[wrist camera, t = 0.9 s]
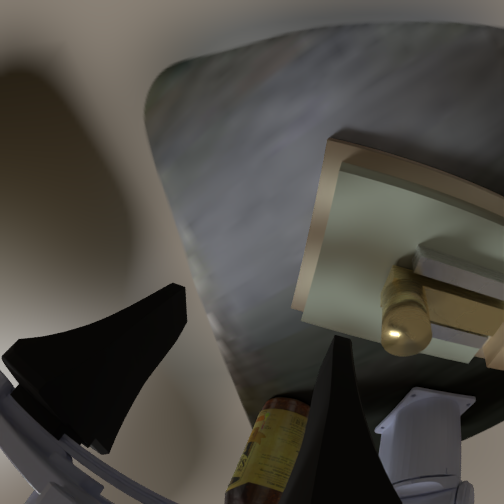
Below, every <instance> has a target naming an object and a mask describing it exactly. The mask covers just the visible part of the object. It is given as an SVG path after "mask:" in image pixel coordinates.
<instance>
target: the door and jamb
mask: <svg viewBox="0 0 504 504" xmlns="http://www.w3.org/2000/svg"><path fill="white" fill-rule="evenodd" d="M418 245H421V246H424V247H427V248H430V249H433V250H436V251H440V252H443V253H446V254H449V255H452V256H455V257H458V258H461V259H463V260H466V261H469V262H472V263H475V264H478V265H481V266H483V267H486V268H489V269H492V270H495V271H497V272H500V273H503V274H504V196H502V195H500V194H497V193H495V192H493V191H491V190H488V189H486V188H484V187H482V186H479V185H477V184H474V183H472V182H470V181H467V180H465V179H462V178H460V177H457V176H454V175H452V174H449V173H447V172H444V171H441V170H438V169H436V168H433V167H430V166H427V165H424V164H421V163H418V162H415V161H412V160H409V159H406V158H403V157H400V156H397V155H393V154H390V153H387V152H383V151H380V150H376V149H373V148H369V147H366V146H362V145H358V144H354V143H350V142H346V141H342V140H338V139H334V138H330V137H329V138H328V140H327V144H326V150H325V155H324V161H323V166H322V171H321V176H320V181H319V186H318V191H317V196H316V201H315V206H314V211H313V215H312V220H311V225H310V229H309V234H308V238H307V243H306V247H305V252H304V256H303V260H302V265H301V269H300V273H299V277H298V282H297V286H296V290H295V294H294V298H293V302H292V306H291V308H292V309H296V310H299V311H302V312H303V315H302V319H301V321H303V322H307V323H310V324H314V325H317V326H321V327H324V328H327V329H331V330H335V331H338V332H342V333H345V334H349V335H353V336H356V337H360V338H364V339H368V340H371V341H375V342H379V343H381V331H382V307H380V302H381V291H382V289H383V287H384V285H385V282H386V280H387V278H388V275H389V273H390V270H391V268H392V265H396V266H399V267H403V268H406V269H409V270H413V266H412V258H413V256H414V253H415V251H416V248H417V246H418ZM419 353H423V354H428V355H432V356H436V357H441V358H445V359H450V360H455V361H459V362H464V363H469V362H470V360H471V359H472V358H473V357H474V356H476V357H481V358H485V361H486V365H487V367H489V368H494V369H499V370H504V322H503V323H502V325H501V326H500V327H499V329H498V330H497V332H496V333H495V334H494V336H493V337H491V336H488V339H487V341H486V342H485V343H484V345H483V346H482V347H481V349H478V348H474V347H469V346H465V345H461V344H457V343H453V342H448V341H444V340H440V339H436V338H432V339H431V342H430V344H429V345H428V346H427V347H426V348H425V349H424V350H423V351H421V352H419Z"/></svg>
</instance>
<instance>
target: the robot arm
mask: <svg viewBox="0 0 504 504" xmlns="http://www.w3.org/2000/svg"><path fill="white" fill-rule="evenodd" d="M186 323H187V311H186V293H185V287H183V286H181V285H178V284H175V283H172V284H169V285H167V286H166V287H164V288H162V289H160V290H158V291H157V292H155V293H153V294H151V295H150V296H148V297H146V298H144V299H142V300H140V301H139V302H137V303H135V304H133V305H131V306H129V307H127V308H125V309H123V310H121V311H119V312H117V313H115V314H113V315H111V316H109V317H106V318H104V319H102V320H99V321H97V322H94V323H92V324H89V325H86V326H83V327H79V328H76V329H73V330H69V331H66V332H62V333H57V334H53V335H48V336H43V337H34V338H25V339H18V340H17V342H15V344H13V345H12V346H11V347H10V348H9V350H7V351H6V352H5V353H4V355H2V361H3V362H4V364H5V365H6V367H7V368H8V370H9V371H10V372H11V374H12V375H13V376H14V378H15V379H16V380H17V382H18V383H19V385H18V386H17V387H16V388H14V387H13V385H12V383H11V382H10V381H9V380H8V378H7V377H6V376H5V375H4V374H3V373H2V372H1V371H0V448H1V449H2V451H3V452H4V454H5V455H6V456H7V457H8V459H9V460H10V461H11V463H12V464H13V465H14V466H15V468H16V469H17V470H18V471H19V472H20V474H21V475H22V476H23V477H24V478H25V480H26V481H27V482H28V483H29V484H30V485H31V486H32V487H33V488H34V491H33V493H32V494H31V495H30V497H29V498H28V500H27V501H26V502H25V504H114V503H113V502H111V501H109V500H108V499H106V498H105V497H103V496H102V495H100V493H101V492H102V490H103V489H104V486H103V485H101V484H100V483H98V482H97V481H95V480H94V479H92V478H91V477H90V476H88V475H87V474H86V473H84V472H83V471H81V470H80V469H79V468H77V467H76V466H75V465H74V464H73V462H72V457H73V458H74V459H76V460H77V461H78V462H80V463H81V464H82V465H84V466H85V467H87V468H88V469H89V470H91V471H92V472H93V473H95V474H96V475H98V476H99V477H101V478H102V479H104V480H105V481H107V482H108V483H110V484H111V485H113V486H114V487H116V488H118V489H119V490H121V491H122V492H124V493H126V494H127V495H129V496H131V497H133V498H134V499H136V500H138V501H140V502H141V503H143V504H178V503H175V502H173V501H171V500H169V499H167V498H165V497H163V496H161V495H159V494H157V493H155V492H153V491H151V490H150V489H148V488H146V487H144V486H142V485H140V484H139V483H137V482H135V481H133V480H131V479H130V478H128V477H126V476H125V475H123V474H122V473H120V472H118V471H117V470H115V469H114V468H112V467H110V466H109V465H107V464H106V463H104V462H103V461H101V460H100V459H98V458H97V457H95V456H94V455H93V454H91V453H90V452H88V451H87V450H85V449H84V448H83V447H81V446H80V445H81V443H82V444H83V445H84V446H86V447H87V448H88V447H91V448H92V449H94V450H95V451H97V452H98V453H100V454H102V455H104V454H109V453H110V450H111V448H112V445H113V443H114V440H115V438H116V436H117V434H118V432H119V429H120V427H121V425H122V423H123V421H124V419H125V417H126V415H127V413H128V412H129V410H130V408H131V406H132V404H133V402H134V400H135V399H136V397H137V395H138V394H139V392H140V390H141V388H142V387H143V385H144V383H145V382H146V381H147V379H148V378H149V376H150V375H151V374H152V372H153V371H154V370H155V368H156V367H157V366H158V365H159V363H160V362H161V361H162V359H163V358H164V357H165V356H166V354H167V353H168V351H169V350H170V349H171V348H172V346H173V345H174V344H175V342H176V341H177V339H178V337H179V335H180V334H181V332H182V330H183V328H184V327H185V325H186ZM475 401H476V398H475V397H474V396H467V395H460V394H454V393H448V392H442V391H437V390H431V389H426V388H421V387H414V388H412V389H411V390H410V392H409V393H408V394H407V395H406V396H405V397H404V398H403V400H402V401H401V402H400V403H399V404H398V405H397V406H396V407H395V408H394V409H393V410H392V412H391V413H390V414H389V415H388V416H387V417H386V418H385V419H384V420H383V421H382V422H381V423H380V424H379V425H378V426H377V427H376V428H375V432H376V433H380V434H382V436H381V443H380V450H379V455H378V452H377V450H376V448H375V445H374V442H373V440H372V437H371V434H370V431H369V428H368V425H367V421H366V418H365V414H364V411H363V407H362V403H361V398H360V394H359V389H358V384H357V379H356V374H355V367H354V360H353V352H352V342H351V340H350V339H348V338H344V337H341V336H337V335H335V336H334V338H333V340H332V343H331V345H330V347H329V349H328V352H327V354H326V356H325V358H324V361H323V363H322V365H321V367H320V371H319V374H318V377H317V381H316V384H315V387H314V391H313V396H312V401H311V406H310V411H309V415H308V420H307V425H306V429H305V433H304V438H303V441H302V445H301V448H300V451H299V453H298V456H297V459H296V462H295V464H294V467H293V469H292V472H291V475H290V477H289V480H288V482H287V484H286V487H285V489H284V491H283V494H282V496H281V498H280V501H279V503H278V504H474V488H473V485H472V484H470V483H469V482H468V481H463V482H462V481H461V422H460V416H461V415H462V414H463V413H464V412H465V411H466V410H467V409H468V408H469V407H470V406H471V405H472V404H473V403H475ZM71 456H72V457H71Z"/></svg>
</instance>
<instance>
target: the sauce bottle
mask: <svg viewBox="0 0 504 504" xmlns="http://www.w3.org/2000/svg"><path fill="white" fill-rule="evenodd" d="M309 411H310V406H309V405H308V404H306V403H304V402H302V401H299V400H297V399H292V398H286V397H275V398H272V399H270V400H268V401H267V402H266V403H265V405H264V407H263V410H262V411H261V412H260V413H259V415H258V418H257V420H256V423H255V425H254V428H253V430H252V433H251V435H250V437H249V440H248V442H247V445H246V447H245V449H244V452H243V454H242V456H241V458H240V461H239V463H238V465H237V468H236V470H235V472H234V475H233V477H232V479H231V482H230V484H229V485H228V488H227V490H226V493H225V504H278V503H279V501H280V498H281V496H282V494H283V491H284V489H285V487H286V484H287V482H288V480H289V477H290V475H291V472H292V469H293V467H294V464H295V462H296V459H297V456H298V453H299V451H300V448H301V445H302V441H303V438H304V433H305V429H306V425H307V420H308V415H309Z"/></svg>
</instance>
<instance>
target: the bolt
mask: <svg viewBox="0 0 504 504" xmlns="http://www.w3.org/2000/svg"><path fill="white" fill-rule="evenodd" d="M380 307H382V331H381V343H382V346H383V348H384V349H385V350H386V351H387V352H389V353H390V354H393V355H396V356H411V355H415V354H417V353H419V352H421V351H423V350H424V349H425V348H426V347H427V346H428V345H429V344H430V342H431V339H432V329H431V322H430V321H433V322H437V323H441V324H445V325H449V326H452V327H456V328H460V329H464V330H468V331H472V332H475V333H479V334H483V335H487V336H491V337H493V336H494V334H495V333H496V332H497V330H498V329H499V327H500V326H501V325H502V323H503V322H504V301H503V300H500V299H497V298H494V297H490V296H487V295H484V294H481V293H478V292H475V291H472V290H468V289H465V288H462V287H459V286H456V285H452V284H449V283H446V282H443V281H439V280H436V279H433V278H430V277H426V276H423V275H420V274H416V273H414V271H413V270H409V269H406V268H403V267H399V266H396V265H392V268H391V270H390V273H389V275H388V278H387V280H386V282H385V285H384V287H383V289H382V291H381V302H380Z"/></svg>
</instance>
